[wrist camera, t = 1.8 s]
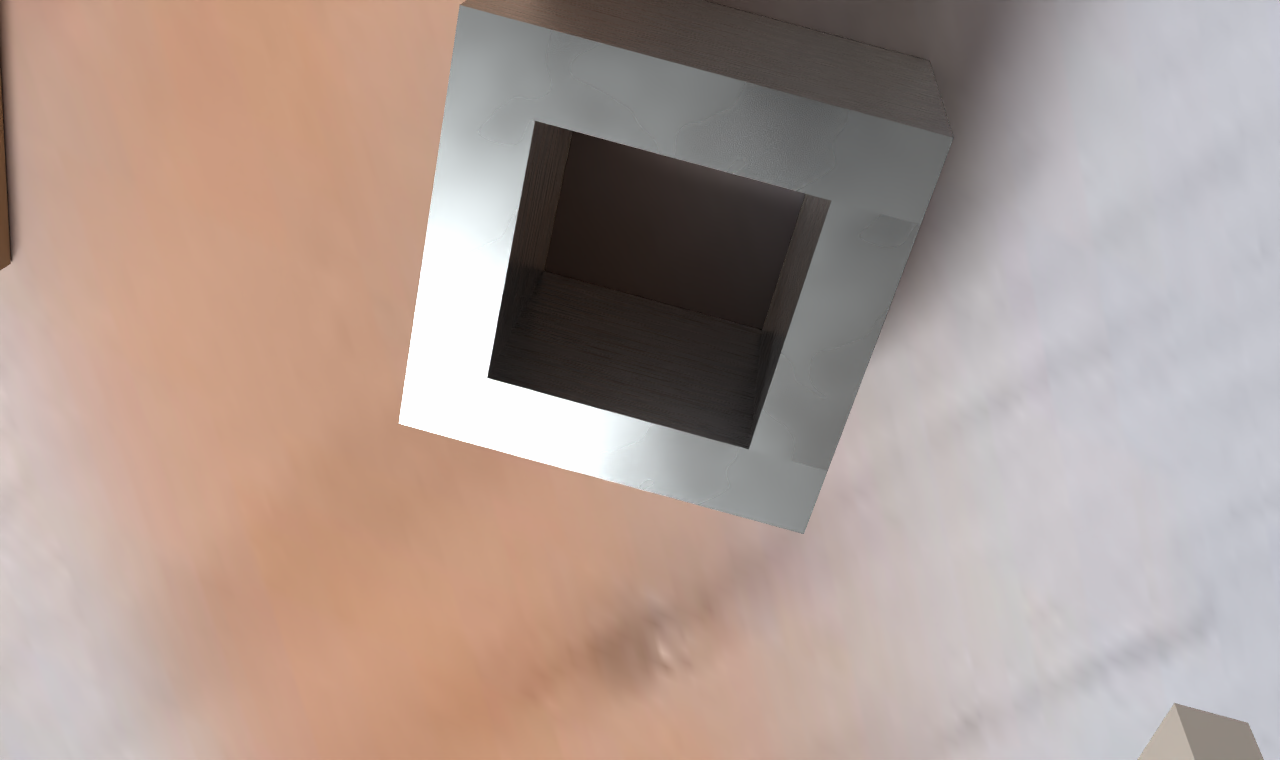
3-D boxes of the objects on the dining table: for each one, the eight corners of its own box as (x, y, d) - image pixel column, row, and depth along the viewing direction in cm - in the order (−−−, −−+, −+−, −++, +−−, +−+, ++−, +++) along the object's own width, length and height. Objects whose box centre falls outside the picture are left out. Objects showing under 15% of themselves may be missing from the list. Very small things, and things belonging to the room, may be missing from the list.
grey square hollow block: (929, 60, 22) (953, 137, 18) (807, 403, 26) (803, 534, 22) (530, -47, 23) (460, 5, 18) (468, 311, 27) (399, 423, 22)
